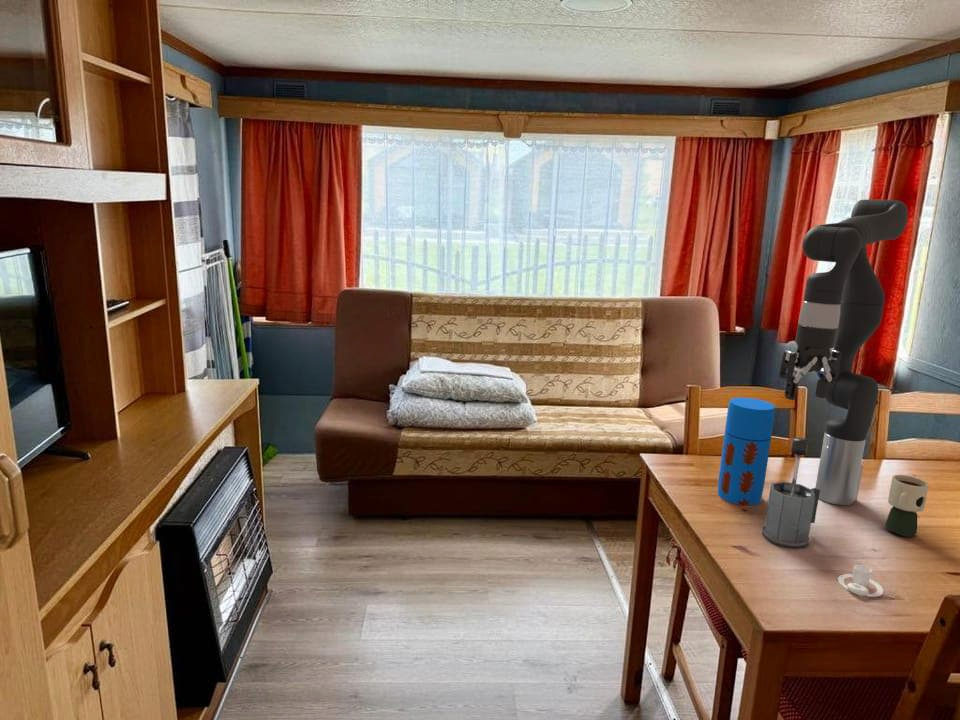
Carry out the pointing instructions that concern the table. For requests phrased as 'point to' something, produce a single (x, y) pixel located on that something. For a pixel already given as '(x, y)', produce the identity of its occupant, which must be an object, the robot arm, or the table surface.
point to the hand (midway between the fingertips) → (805, 398)
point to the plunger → (797, 462)
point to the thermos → (745, 450)
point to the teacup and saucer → (860, 581)
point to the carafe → (790, 515)
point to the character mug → (906, 504)
